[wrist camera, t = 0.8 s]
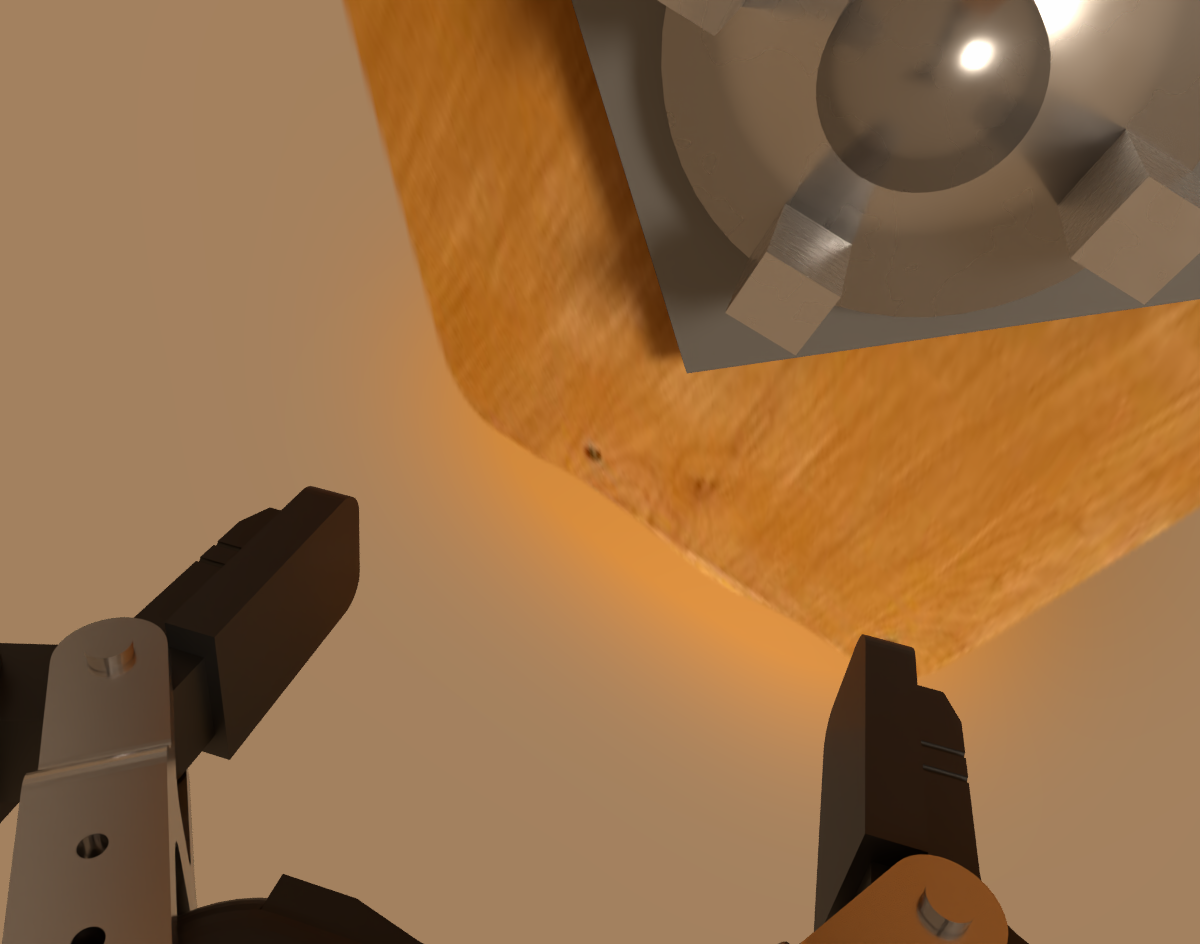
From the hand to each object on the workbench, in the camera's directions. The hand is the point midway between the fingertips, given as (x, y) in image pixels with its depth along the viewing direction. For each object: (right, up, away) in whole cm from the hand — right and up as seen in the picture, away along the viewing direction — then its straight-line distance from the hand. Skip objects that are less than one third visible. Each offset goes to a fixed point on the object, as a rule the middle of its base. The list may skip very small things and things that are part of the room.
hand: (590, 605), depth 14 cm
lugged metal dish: (+10, +15, +13) cm, 22 cm away
